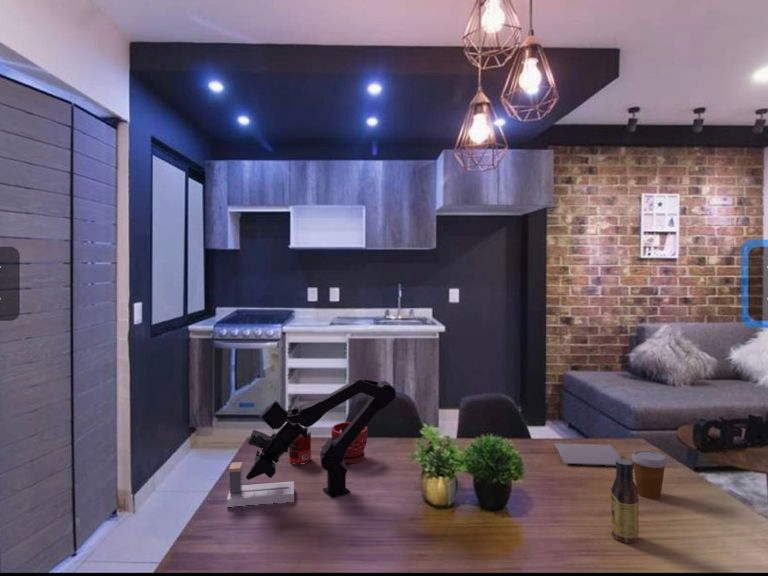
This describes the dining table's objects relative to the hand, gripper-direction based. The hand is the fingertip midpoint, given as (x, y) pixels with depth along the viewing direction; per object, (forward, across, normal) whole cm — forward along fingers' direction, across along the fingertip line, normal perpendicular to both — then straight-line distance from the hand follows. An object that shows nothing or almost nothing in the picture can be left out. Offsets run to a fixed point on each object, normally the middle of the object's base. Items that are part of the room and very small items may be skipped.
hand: (247, 478), depth 145 cm
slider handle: (+5, 0, 0) cm, 5 cm away
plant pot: (-19, -26, +29) cm, 43 cm away
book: (-78, -10, +90) cm, 120 cm away
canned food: (-6, -28, +16) cm, 33 cm away
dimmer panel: (+2, 0, +8) cm, 8 cm away
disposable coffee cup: (-79, +20, +90) cm, 122 cm away
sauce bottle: (-62, +41, +73) cm, 105 cm away
